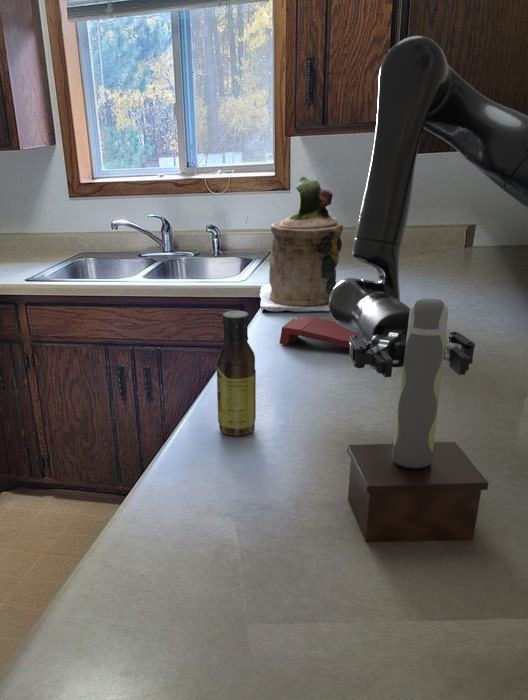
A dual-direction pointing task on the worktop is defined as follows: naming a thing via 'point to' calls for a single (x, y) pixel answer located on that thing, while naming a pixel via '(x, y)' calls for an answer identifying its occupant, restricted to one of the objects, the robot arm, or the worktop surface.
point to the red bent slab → (316, 331)
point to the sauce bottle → (236, 377)
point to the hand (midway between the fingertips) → (426, 367)
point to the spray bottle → (420, 384)
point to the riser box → (414, 495)
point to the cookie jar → (304, 255)
